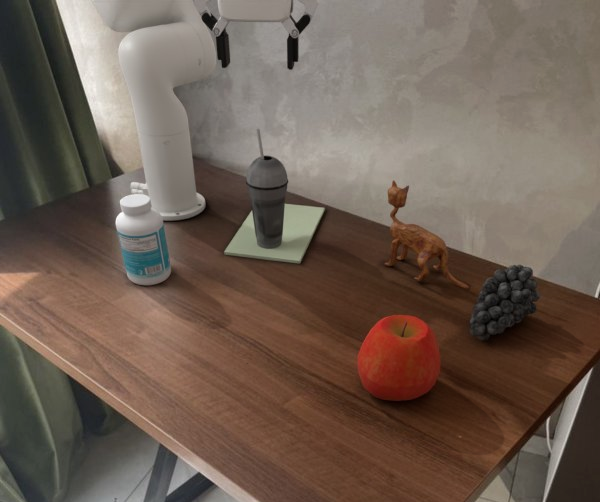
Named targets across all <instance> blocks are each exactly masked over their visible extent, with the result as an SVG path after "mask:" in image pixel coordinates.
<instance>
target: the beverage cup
mask: <svg viewBox="0 0 600 502" xmlns="http://www.w3.org/2000/svg"><path fill="white" fill-rule="evenodd" d="M260 130H261V129H260V128H256V136H257V142H258V149H259V155H260V156H258V157H256V158H255V159H254V160H253V161H252V162H251V164H250V165H249V166H248V170H247V172H246V179H245V184H246V187H247V191H248V195H249V199H250V207H251V211H252V213H253V220H254V227H255V234H256V239H257V245H258V246H259V247H261V248H265V249H273V248H277V247H279V246H280V245H281V243H282V235H283V222H284V208H285V204H286V194H287V190H288V184H289V179H288V174H287V170H286V168H285V166H284V164H283V163H282V161H281V160H279V159H278V158H277V157H274V156H272V155H264V150H263V149H264V148H263V141H262V137H261V131H260Z"/></svg>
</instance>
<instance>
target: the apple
mask: <svg viewBox="0 0 600 502" xmlns="http://www.w3.org/2000/svg"><path fill="white" fill-rule="evenodd" d="M440 353H441V352H440V348H439V343H438V339H437V336H436V335H435V332H434V331H433V328H432V327H431V326H429V324H428V323H426V321H424V320H423V319H420V318H418V317H416V316H415V315H414V316H413V315H407V314H392V315H389V316H385V317H383V318H381V319H380V320H378V321H377V323H375V324H374V325H373V327H372V328H371V329H370V330H369V332H368V333H367V335H366V336H365V339H364V340H363V342H362V343H361V346H360V348H359V352H358V354H357V374H358V376H359V380H360V381H361V385H362V387H363V388H364V390H366V391H367V392H368V393H369V394H370V395H371V396H373V397H374V398H377V399H380V400H383V401H392V402H399V401H410V400H414V399H417V398H420V397H422V396H423V395H425V394H427V393H429V392H430V390H431V389H432V388H433V387H434V386H435V384H436V383H437V380H438V378H439V376H440V370H441V363H442V361H441V354H440Z"/></svg>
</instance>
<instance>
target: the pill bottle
mask: <svg viewBox="0 0 600 502" xmlns="http://www.w3.org/2000/svg"><path fill="white" fill-rule="evenodd" d="M119 204H120V209H121V212H120V213H118V215H117V216H116V218H115V228H116V232H117V236H118V240H119V245H120V250H121V254H122V258H123V264H124V268H125V272H126V275H127V278H128V280H129V281H131V282H132V283H134V284H136V285H139V286H153V285H158V284H160V283H163V282H164V281H166V280H167V279H168V278H169V277H170V275H171V274H172V266H171V259H170V254H169V249H168V242H167V237H166V231H165V225H164V220H163V219H162V216H161V214H160V213H159V212H158V211H157V210H155V209H153V208H151V206H152V204H151V200H150V197H149V196H147V195H143V194H132V195H131V194H128V195H125V196H123V197H122V198H121V199H120V200H119Z"/></svg>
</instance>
